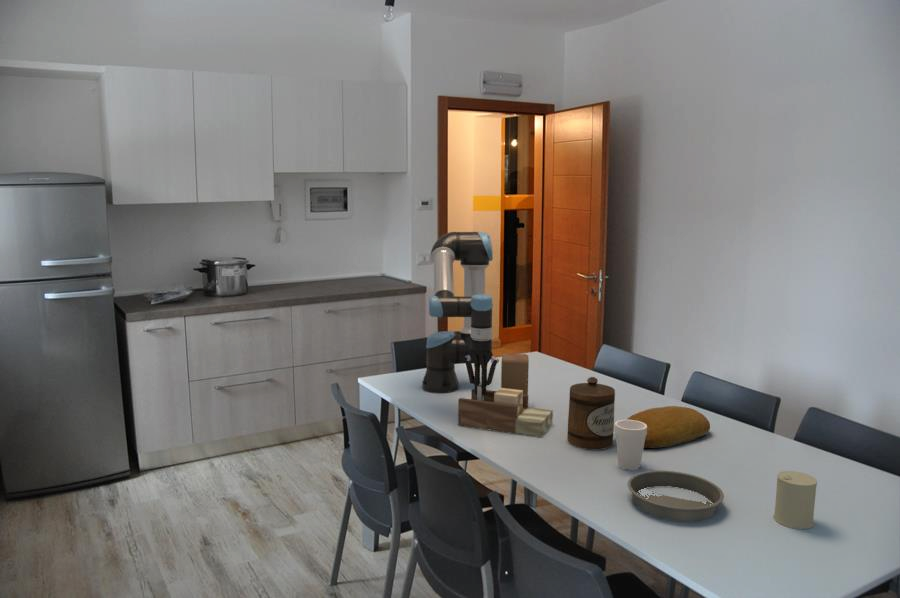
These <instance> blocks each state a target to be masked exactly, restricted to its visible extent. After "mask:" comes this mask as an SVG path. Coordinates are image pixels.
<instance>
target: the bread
mask: <svg viewBox="0 0 900 598" xmlns="http://www.w3.org/2000/svg"><path fill="white" fill-rule="evenodd" d="M625 420H636V421H640V422H643V423H645V424H646V425H647V435H646V437H645V443H644V448H648V449H651V448H652V449H654V448H655V449H657V448H667V447H671V446H677V445H679V444H681V443H688V442H691V441H694V440H696V439H697V438H700V437H703V436H705V435H706V434H708V433H709V431H710V430H711V425H710V421H709V419H708V418H707V417H706V416H705V415H704V414H703V413H701V412H699V411H697V409H693V408H690V407H685V406H677V405H672V406H671V405H669V406H661V407H660V406H659V407H653V408H648V409H645V410H643V411H639V412H637V413H635V414H632V415H631V416H630V417H629V416H628V418H627V419H625Z"/></svg>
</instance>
